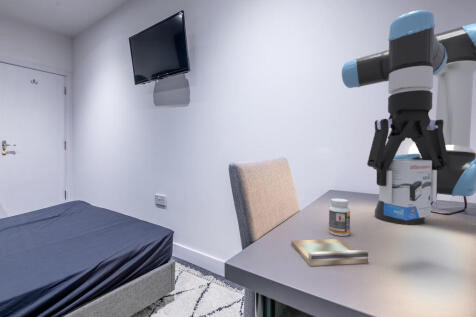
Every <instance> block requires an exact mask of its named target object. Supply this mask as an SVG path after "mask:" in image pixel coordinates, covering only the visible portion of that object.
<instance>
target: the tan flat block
mask: <svg viewBox="0 0 476 317" xmlns="http://www.w3.org/2000/svg"><path fill="white" fill-rule="evenodd" d="M290 242H291V243H290V244H291V246H292V247H293V248H294V249H295V251H297V253H298V254H299V255H300V257H302V259H304V261H305V262H306V263H307V264H308V265H309V266H310V267H315V266H335V265H339V266H340V265H356V264H358V265H359V264H369V251H368V250H367V249H355V248H353V247H352V246H351V245H349V244H348V243H346V242H344V241H343V240H341V239H340V238H330V239H327V238H326V239H325V238H324V239H321V238H320V239H304V240H302V239H301V240H300V239H298V240H294V239H293V240H290Z"/></svg>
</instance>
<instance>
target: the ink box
mask: <svg viewBox="0 0 476 317" xmlns="http://www.w3.org/2000/svg"><path fill="white" fill-rule="evenodd" d="M388 170H389V171H392V203H386V202H384V215H386V216H391V217H395V218H399V219H403V220H411V219H416V218H421V217H425V218H427V217H430V216H431V215H432V214H431V212H432V211H431V210H432V209H431V207H432V206H431V205H432V204H431V203H432V201H431V177H432V161H431V160H414V159H396V160H393V161H392V163H391V165H390V167H389V169H388Z"/></svg>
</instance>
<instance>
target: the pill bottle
mask: <svg viewBox="0 0 476 317" xmlns="http://www.w3.org/2000/svg"><path fill="white" fill-rule="evenodd" d="M330 204H331V206H329V209H328V232H329V233H330V234H332V235H333V236H338V237H347V236H349V235H350V234H351V209H350V208H349V207H348V206H349V200H348V199H343V198H331V199H330Z"/></svg>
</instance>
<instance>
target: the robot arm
mask: <svg viewBox="0 0 476 317" xmlns="http://www.w3.org/2000/svg"><path fill="white" fill-rule="evenodd" d="M435 27H436V24H435V16H434V13H433V12H432V11H430V10H427V9H419V10H413V11H410V12H406V13H404V14H402V15H400V16H398V17H396V18H395V19H394V20H392V22H391V24H390V26H389V35H388V39H387V40H388V49H386V50H384V51H381V52H376V53H372V54H369V55H366V56H362V57H359V58H353V59H351V60H348V61H346V62H345V63H344V64H343V65H342V68H341V79H342V82H343V85H344V86H345V87H346V88H348V89H353V88H354V89H355V88H361V87H365V86H370V85H374V84H379V83H384V82H388V85H387V86H388V87H387V88H388V94H390V95H389V97H387V112H388V113H389V117H388V118H382V119H376V120H375V121H374V134H373V135H374V136H373V139H372V142H371V143H372V144H371V148H370V150H369V156H368V159H367V163H366V164H367V167H369V168H370V167H371V168H372V169H373V170H376V185H377V186H378V190H379V193H378V201H377V204H376V206H375V209H374V217H375V218H377V219H378V220H381V221H385V222H388V223H389V222H390V223H395V224H402V225H423V224H425V222H426V217H421V218H416V219H411V220H403V219H399V218H395V217H391V216H386V215H384V202H386V203H392V171H389V170H388V169H389V167H390V165H391V163H392V161H393V160H396V159H414V160H431V161H432V177H431V203H433V202H434V203H435V202H437V195H447V196H453V197H457V196H459V197H471V196H473V195H474V194H476V151H474V150H473V149H472V148H471V129H472V128H471V127H472V126H471V125H472V109H473V108H472V106H473V104H472V103H473V88H474V87H473V86H474V84H473V83H474V73H476V23H471V24H467V25H461V26H460V27H457V28H453V29H449V30H446V31H442V32H439V33H436V34H435ZM434 76H435V77H437V90H436V91H437V93H436V94H437V96H436V109H435V110H436V112H435V119H431V118H430V115H429V114H430V112H431V110H432V109H433V94H434V93H433V92H432V91H431V90H432V89H433V88H434ZM390 129H391V131H389V130H390ZM389 132H390V133H389ZM406 139H410V140H411V141H412V142H413V143H414V144H415V146H416V148H417V150H418V153H410V154H409V153H407V154H398V155H397V152H398V150H399V148H400V146H401V145H402V142H404V141H405V140H406Z"/></svg>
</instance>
